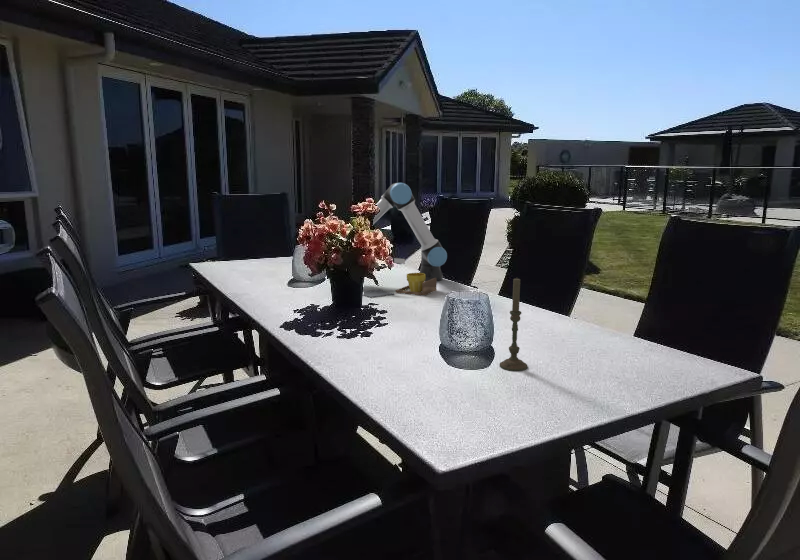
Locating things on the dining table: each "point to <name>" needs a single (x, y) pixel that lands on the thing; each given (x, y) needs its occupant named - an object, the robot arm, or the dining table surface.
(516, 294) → the candlestick holder
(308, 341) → the dining table surface
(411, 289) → the plant pot
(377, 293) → the mat
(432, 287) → the dock
